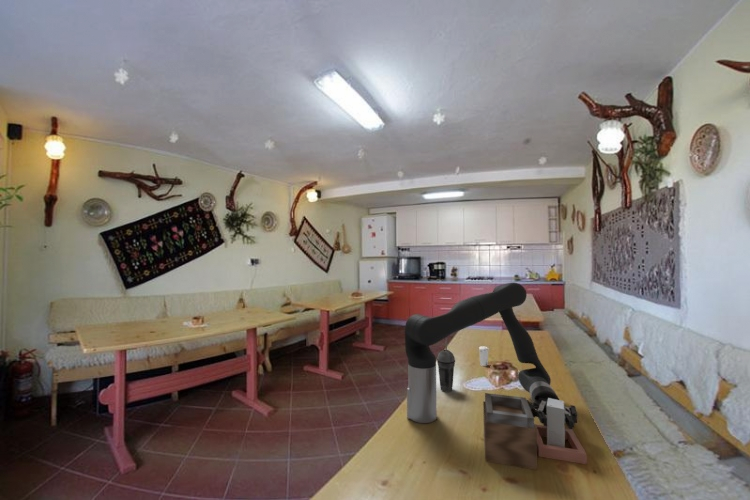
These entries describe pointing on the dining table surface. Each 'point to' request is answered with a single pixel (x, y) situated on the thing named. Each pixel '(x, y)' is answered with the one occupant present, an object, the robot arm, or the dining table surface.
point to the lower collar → (561, 453)
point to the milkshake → (483, 355)
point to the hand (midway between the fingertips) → (558, 423)
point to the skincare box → (555, 423)
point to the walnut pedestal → (509, 431)
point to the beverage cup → (446, 369)
